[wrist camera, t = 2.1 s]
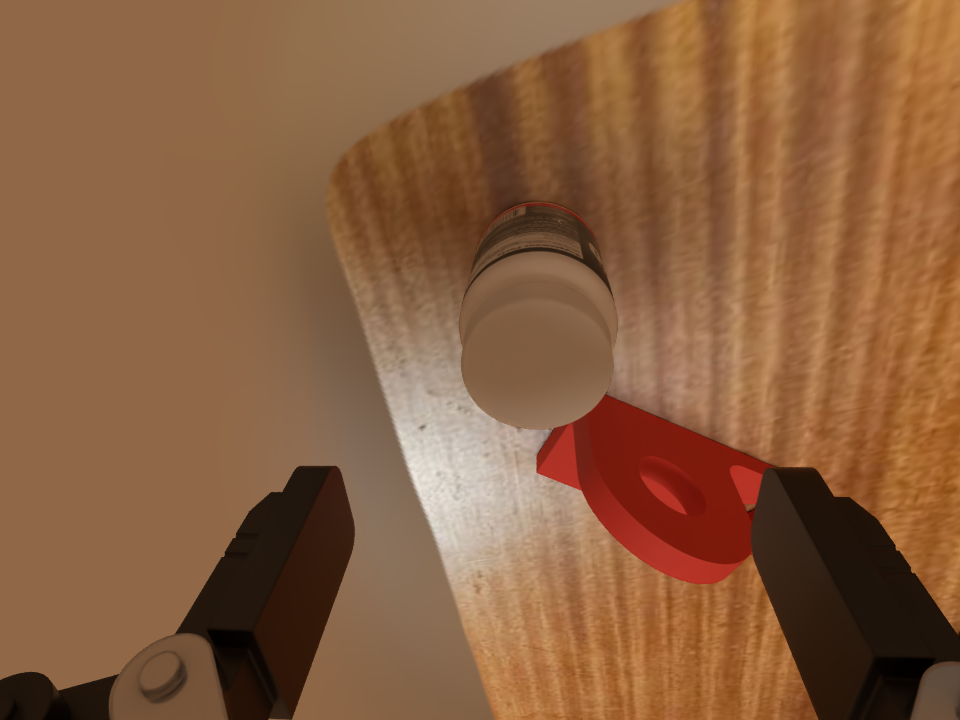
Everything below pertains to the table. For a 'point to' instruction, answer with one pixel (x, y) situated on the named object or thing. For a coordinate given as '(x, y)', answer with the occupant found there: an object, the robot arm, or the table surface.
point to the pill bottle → (537, 319)
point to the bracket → (659, 488)
